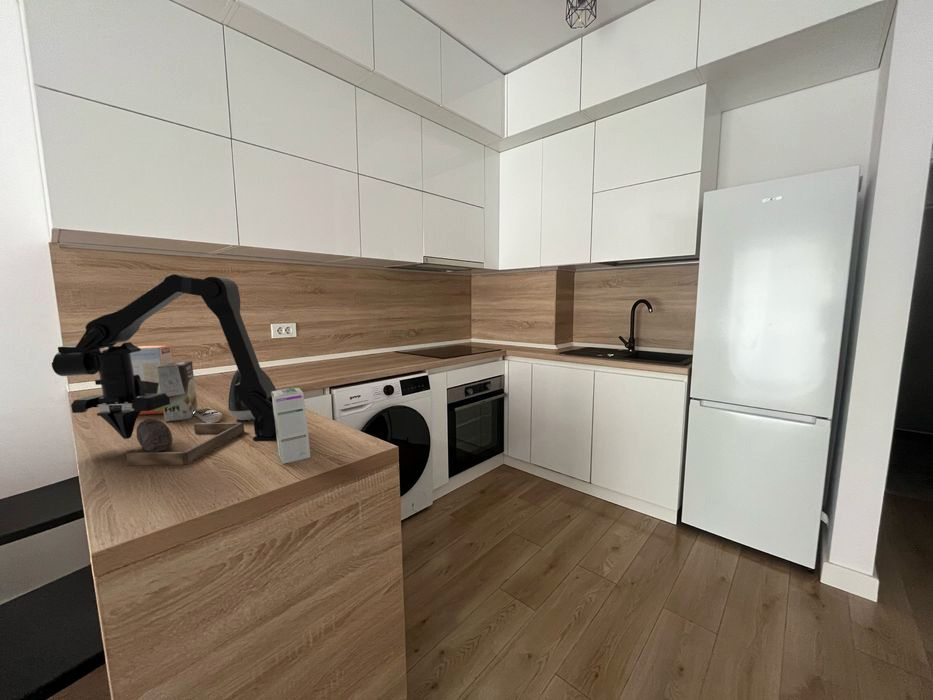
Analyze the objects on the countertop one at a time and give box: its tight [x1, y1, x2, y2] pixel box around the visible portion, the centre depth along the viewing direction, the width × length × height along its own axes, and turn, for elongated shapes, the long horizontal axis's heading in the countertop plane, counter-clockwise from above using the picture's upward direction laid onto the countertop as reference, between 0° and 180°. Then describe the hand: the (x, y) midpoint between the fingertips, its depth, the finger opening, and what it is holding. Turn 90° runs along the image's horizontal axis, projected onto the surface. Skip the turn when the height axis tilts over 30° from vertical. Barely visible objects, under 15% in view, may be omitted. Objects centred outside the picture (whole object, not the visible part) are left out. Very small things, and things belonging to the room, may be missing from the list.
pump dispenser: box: [227, 368, 255, 422], centre depth 109 cm, size 10×10×15 cm
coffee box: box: [157, 360, 199, 423], centre depth 112 cm, size 9×6×16 cm
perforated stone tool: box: [135, 418, 173, 452], centre depth 88 cm, size 15×5×7 cm, turn 50°
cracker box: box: [125, 344, 175, 416], centre depth 118 cm, size 14×6×21 cm, turn 92°
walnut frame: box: [125, 422, 245, 466], centre depth 88 cm, size 13×19×2 cm, turn 178°
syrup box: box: [272, 387, 311, 465], centre depth 80 cm, size 6×6×14 cm
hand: (127, 438), depth 89 cm, fingers closed
